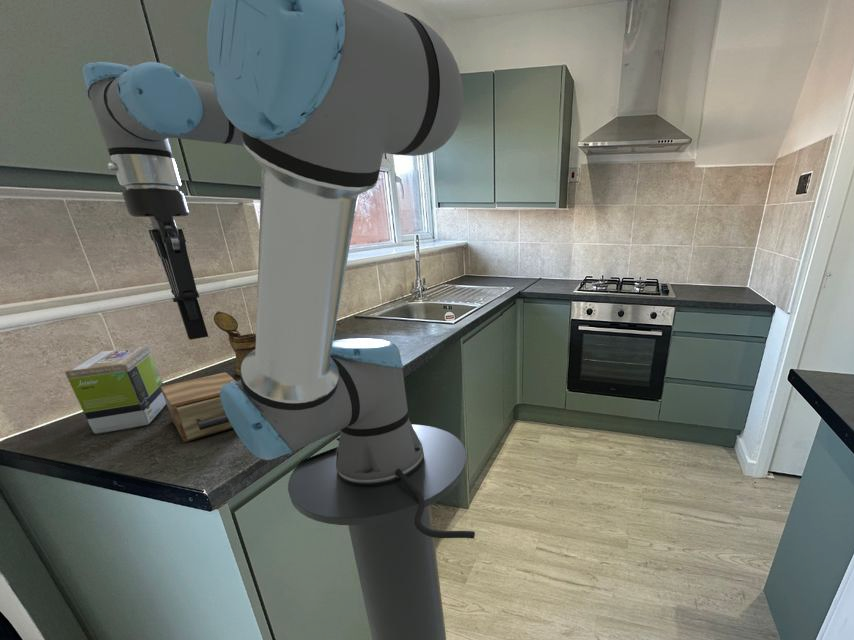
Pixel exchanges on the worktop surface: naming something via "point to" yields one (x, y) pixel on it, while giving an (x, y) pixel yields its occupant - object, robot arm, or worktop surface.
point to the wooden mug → (236, 337)
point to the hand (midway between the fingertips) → (198, 337)
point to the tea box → (118, 389)
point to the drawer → (203, 417)
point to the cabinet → (193, 396)
